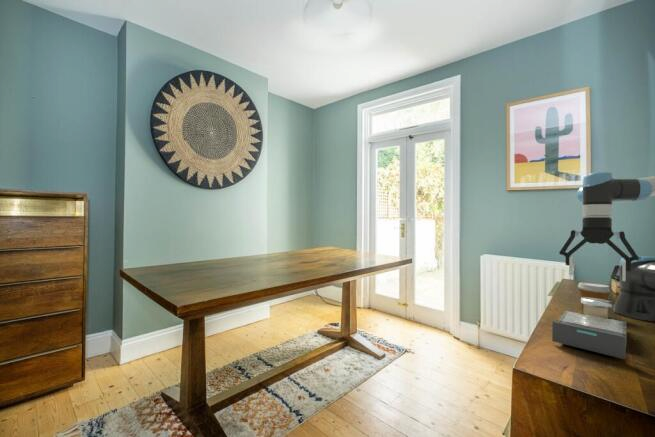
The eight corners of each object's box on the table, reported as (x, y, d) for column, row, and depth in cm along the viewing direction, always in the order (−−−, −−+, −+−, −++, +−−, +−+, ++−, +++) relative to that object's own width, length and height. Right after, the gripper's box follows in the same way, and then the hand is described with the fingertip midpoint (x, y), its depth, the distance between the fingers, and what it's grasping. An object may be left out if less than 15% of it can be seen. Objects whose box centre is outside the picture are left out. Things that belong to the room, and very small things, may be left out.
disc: (597, 301, 106) (597, 297, 106) (618, 308, 98) (618, 303, 98) (574, 301, 106) (574, 296, 106) (594, 307, 98) (594, 303, 98)
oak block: (585, 320, 106) (585, 301, 106) (607, 325, 102) (608, 305, 102) (583, 324, 102) (583, 304, 102) (607, 329, 97) (607, 308, 98)
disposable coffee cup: (576, 310, 119) (577, 280, 119) (609, 315, 113) (609, 284, 113) (577, 315, 112) (578, 284, 112) (612, 321, 106) (612, 288, 106)
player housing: (565, 323, 103) (565, 310, 103) (626, 335, 92) (626, 321, 92) (558, 333, 92) (558, 320, 92) (626, 349, 82) (626, 333, 82)
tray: (560, 329, 94) (560, 311, 94) (625, 343, 83) (626, 324, 83) (552, 341, 84) (552, 321, 84) (625, 359, 73) (625, 337, 73)
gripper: (649, 217, 96) (648, 281, 96) (554, 217, 114) (553, 271, 113) (650, 216, 90) (649, 285, 90) (550, 216, 108) (549, 273, 108)
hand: (596, 277), depth 102 cm, fingers open, 13 cm apart
